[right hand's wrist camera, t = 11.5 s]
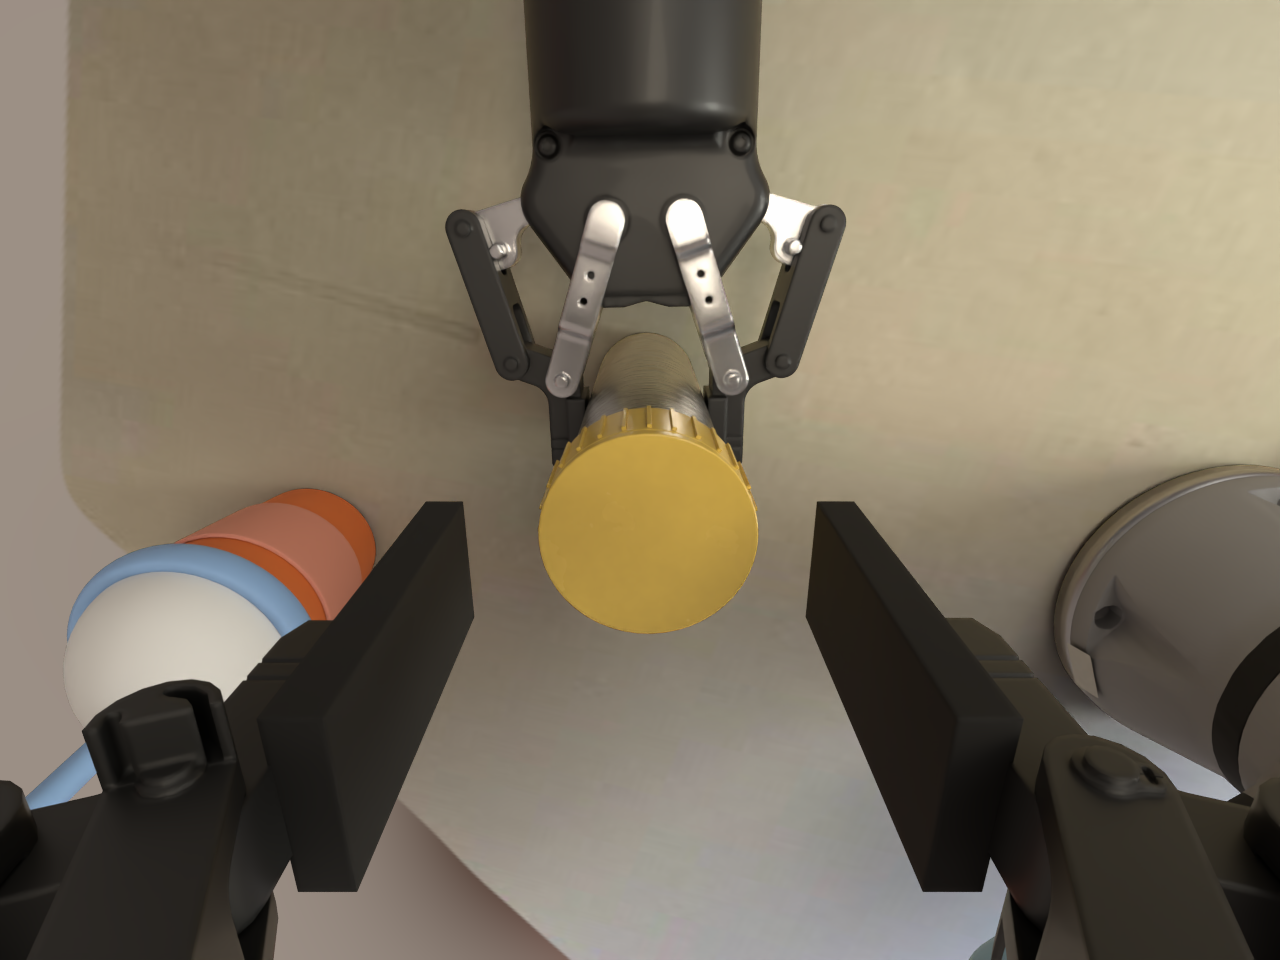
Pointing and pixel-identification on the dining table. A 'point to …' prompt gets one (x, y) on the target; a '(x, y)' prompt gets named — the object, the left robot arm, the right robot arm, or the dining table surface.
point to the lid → (648, 522)
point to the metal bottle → (646, 380)
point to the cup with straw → (206, 607)
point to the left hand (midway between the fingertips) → (648, 480)
